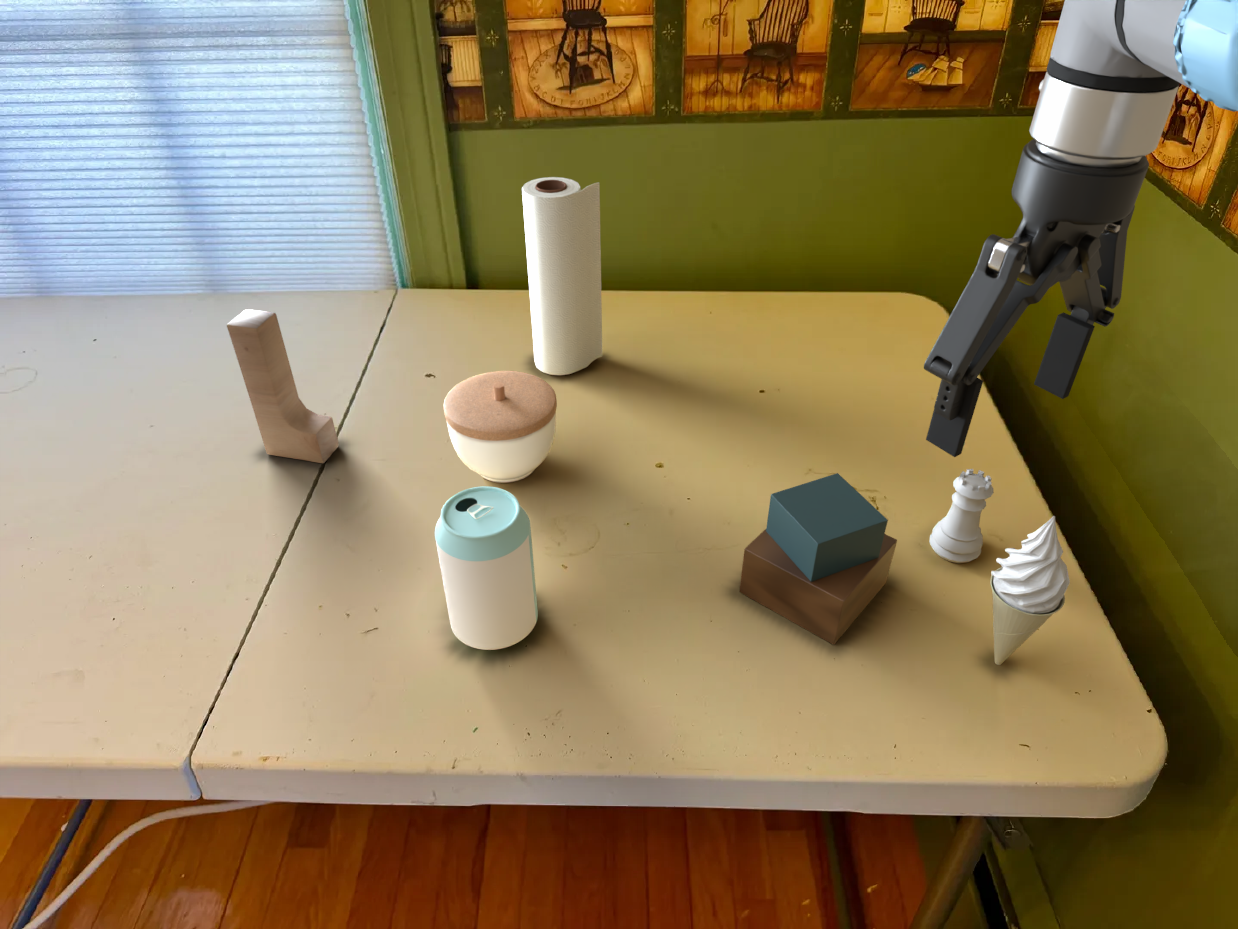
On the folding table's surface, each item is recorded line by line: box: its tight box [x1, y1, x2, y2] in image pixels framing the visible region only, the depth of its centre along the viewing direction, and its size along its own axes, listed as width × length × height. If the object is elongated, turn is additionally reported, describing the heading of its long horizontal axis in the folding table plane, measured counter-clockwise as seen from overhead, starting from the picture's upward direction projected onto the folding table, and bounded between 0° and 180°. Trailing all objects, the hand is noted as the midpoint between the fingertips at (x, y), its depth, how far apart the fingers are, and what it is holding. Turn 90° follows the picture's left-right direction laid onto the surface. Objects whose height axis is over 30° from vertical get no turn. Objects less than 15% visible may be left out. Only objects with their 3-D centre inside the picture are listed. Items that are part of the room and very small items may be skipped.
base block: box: [739, 528, 898, 646], centre depth 72 cm, size 9×9×5 cm
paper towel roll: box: [521, 176, 604, 376], centre depth 96 cm, size 7×6×21 cm
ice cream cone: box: [989, 515, 1071, 666], centre depth 63 cm, size 5×5×15 cm
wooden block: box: [226, 308, 340, 464], centre depth 85 cm, size 7×3×15 cm, turn 76°
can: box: [434, 485, 539, 651], centre depth 67 cm, size 7×7×12 cm
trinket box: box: [442, 370, 558, 484], centre depth 85 cm, size 11×11×9 cm
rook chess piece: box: [928, 468, 995, 564], centre depth 75 cm, size 4×4×8 cm
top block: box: [765, 472, 889, 582], centre depth 70 cm, size 6×6×4 cm
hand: (999, 417), depth 69 cm, fingers open, 13 cm apart
